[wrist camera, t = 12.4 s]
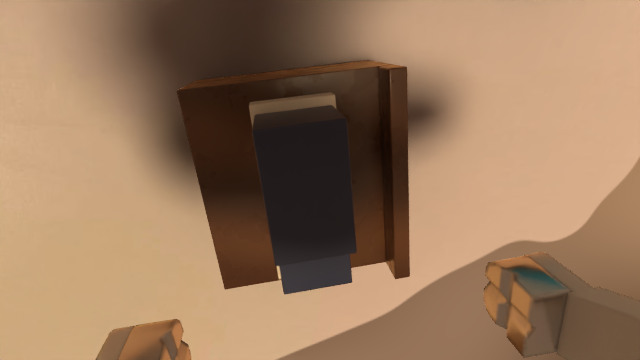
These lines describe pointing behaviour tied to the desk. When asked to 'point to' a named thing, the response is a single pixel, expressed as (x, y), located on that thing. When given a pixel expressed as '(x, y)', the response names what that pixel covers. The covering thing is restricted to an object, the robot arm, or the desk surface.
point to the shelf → (243, 176)
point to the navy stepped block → (306, 188)
